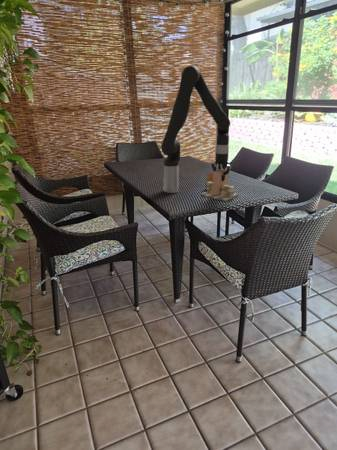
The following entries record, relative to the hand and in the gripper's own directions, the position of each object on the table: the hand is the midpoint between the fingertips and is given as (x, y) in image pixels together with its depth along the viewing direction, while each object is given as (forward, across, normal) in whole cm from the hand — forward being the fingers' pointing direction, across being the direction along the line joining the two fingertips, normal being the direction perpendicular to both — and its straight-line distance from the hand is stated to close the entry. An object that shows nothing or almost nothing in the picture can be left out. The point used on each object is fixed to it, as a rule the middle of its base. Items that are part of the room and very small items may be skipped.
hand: (220, 180), depth 190 cm
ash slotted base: (+10, 0, 0) cm, 10 cm away
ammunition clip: (+10, -13, +11) cm, 20 cm away
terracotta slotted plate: (+8, 0, 0) cm, 8 cm away
